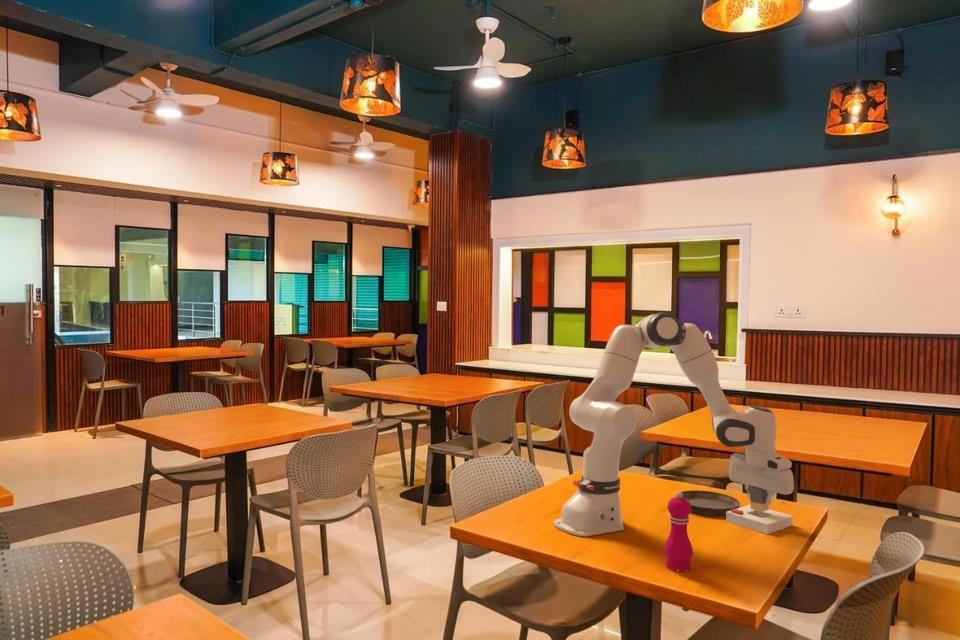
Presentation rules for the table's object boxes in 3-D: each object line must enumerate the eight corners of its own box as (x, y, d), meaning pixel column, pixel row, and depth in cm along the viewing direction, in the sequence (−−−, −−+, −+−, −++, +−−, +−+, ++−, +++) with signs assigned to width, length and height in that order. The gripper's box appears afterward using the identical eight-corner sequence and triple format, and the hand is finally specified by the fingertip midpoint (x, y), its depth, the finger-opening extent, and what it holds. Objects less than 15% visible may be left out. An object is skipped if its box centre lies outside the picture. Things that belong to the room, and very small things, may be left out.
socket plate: (767, 534, 195) (767, 522, 195) (726, 521, 206) (726, 509, 206) (792, 525, 203) (792, 513, 203) (751, 513, 214) (751, 501, 214)
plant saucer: (701, 495, 234) (702, 486, 234) (752, 511, 217) (753, 501, 217) (662, 504, 223) (662, 495, 223) (712, 522, 206) (713, 512, 206)
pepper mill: (686, 561, 174) (688, 487, 173) (696, 572, 167) (698, 495, 166) (660, 561, 174) (661, 487, 173) (669, 572, 167) (670, 495, 166)
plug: (761, 512, 202) (762, 490, 201) (750, 508, 205) (750, 487, 205) (768, 509, 204) (769, 488, 204) (757, 506, 207) (757, 484, 207)
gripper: (725, 452, 211) (724, 494, 211) (785, 466, 194) (784, 511, 194) (736, 450, 214) (735, 491, 215) (797, 463, 198) (796, 508, 198)
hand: (759, 501), depth 204 cm, fingers closed on plug, 4 cm apart
